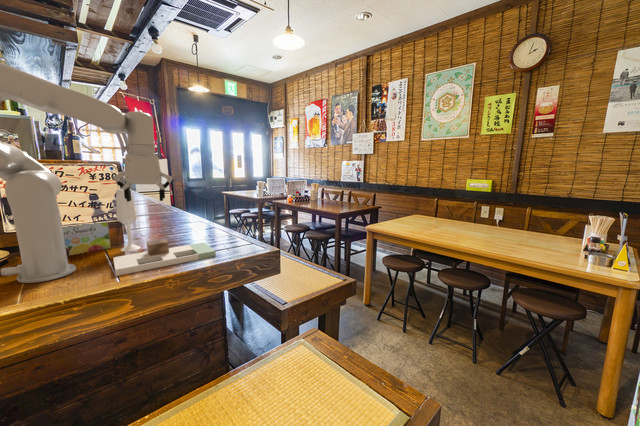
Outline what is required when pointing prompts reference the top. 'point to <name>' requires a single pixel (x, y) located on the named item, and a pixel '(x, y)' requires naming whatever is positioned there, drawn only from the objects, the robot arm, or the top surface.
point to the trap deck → (161, 258)
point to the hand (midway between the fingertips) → (145, 200)
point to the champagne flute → (126, 216)
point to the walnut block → (157, 247)
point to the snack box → (86, 238)
